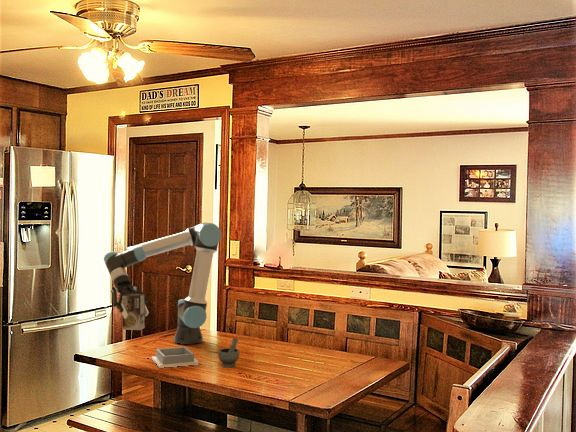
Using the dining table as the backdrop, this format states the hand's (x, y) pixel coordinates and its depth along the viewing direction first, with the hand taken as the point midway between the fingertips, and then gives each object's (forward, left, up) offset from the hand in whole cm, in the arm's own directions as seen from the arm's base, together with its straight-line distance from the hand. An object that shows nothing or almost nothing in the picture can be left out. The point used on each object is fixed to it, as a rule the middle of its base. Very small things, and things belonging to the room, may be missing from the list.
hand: (136, 315), depth 284 cm
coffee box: (+1, -3, -7) cm, 7 cm away
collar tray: (-16, +10, -21) cm, 28 cm away
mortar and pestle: (-38, +24, -21) cm, 50 cm away
